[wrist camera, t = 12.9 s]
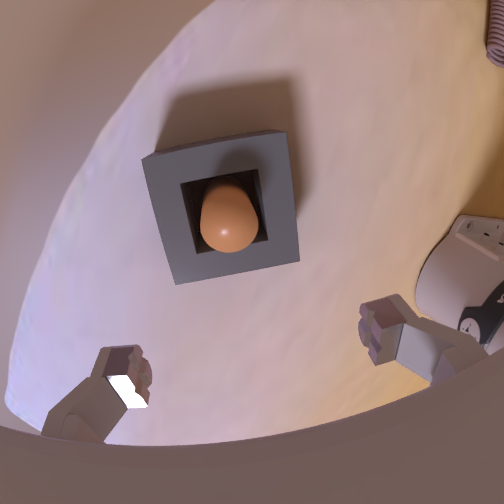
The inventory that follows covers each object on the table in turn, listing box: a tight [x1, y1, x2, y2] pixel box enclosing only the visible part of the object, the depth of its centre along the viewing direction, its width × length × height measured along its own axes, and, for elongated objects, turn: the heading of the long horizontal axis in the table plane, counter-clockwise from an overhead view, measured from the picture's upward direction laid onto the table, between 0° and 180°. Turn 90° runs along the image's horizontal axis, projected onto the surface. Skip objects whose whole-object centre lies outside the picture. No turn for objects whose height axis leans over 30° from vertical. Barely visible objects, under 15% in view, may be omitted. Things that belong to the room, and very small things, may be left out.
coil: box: [486, 0, 504, 68], centre depth 17 cm, size 5×5×18 cm
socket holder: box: [141, 130, 300, 285], centre depth 25 cm, size 11×11×5 cm
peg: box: [200, 176, 258, 253], centre depth 24 cm, size 4×4×8 cm
